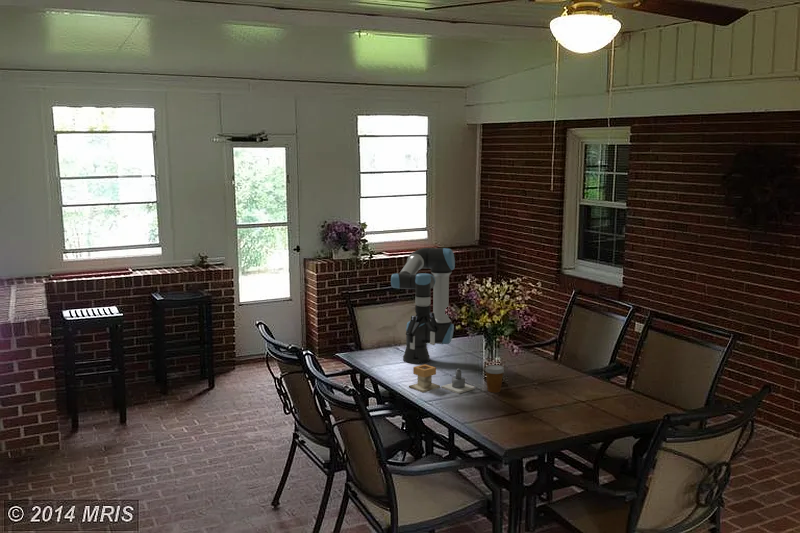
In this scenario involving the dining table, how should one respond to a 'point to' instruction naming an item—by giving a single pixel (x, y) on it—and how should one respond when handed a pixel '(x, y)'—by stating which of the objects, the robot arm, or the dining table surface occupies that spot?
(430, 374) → the ring
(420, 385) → the stand
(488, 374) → the disposable coffee cup
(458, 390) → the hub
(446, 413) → the dining table surface
